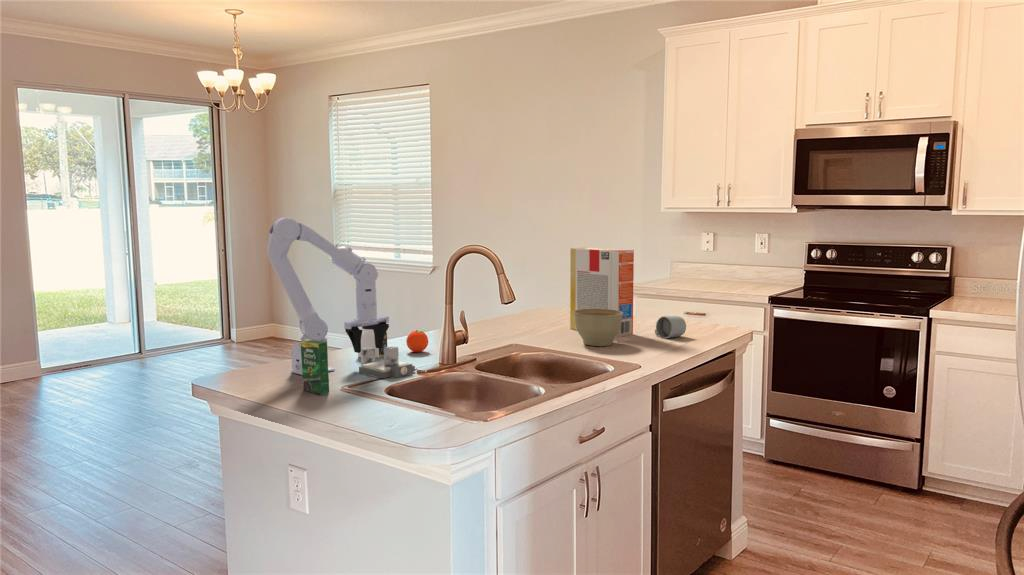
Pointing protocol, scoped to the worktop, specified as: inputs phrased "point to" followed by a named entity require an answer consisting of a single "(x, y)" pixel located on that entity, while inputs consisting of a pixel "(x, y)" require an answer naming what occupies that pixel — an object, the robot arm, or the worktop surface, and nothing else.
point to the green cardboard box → (315, 366)
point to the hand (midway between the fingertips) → (368, 350)
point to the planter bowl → (598, 325)
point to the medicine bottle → (371, 341)
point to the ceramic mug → (670, 326)
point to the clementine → (417, 341)
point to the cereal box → (602, 283)
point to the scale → (387, 369)
